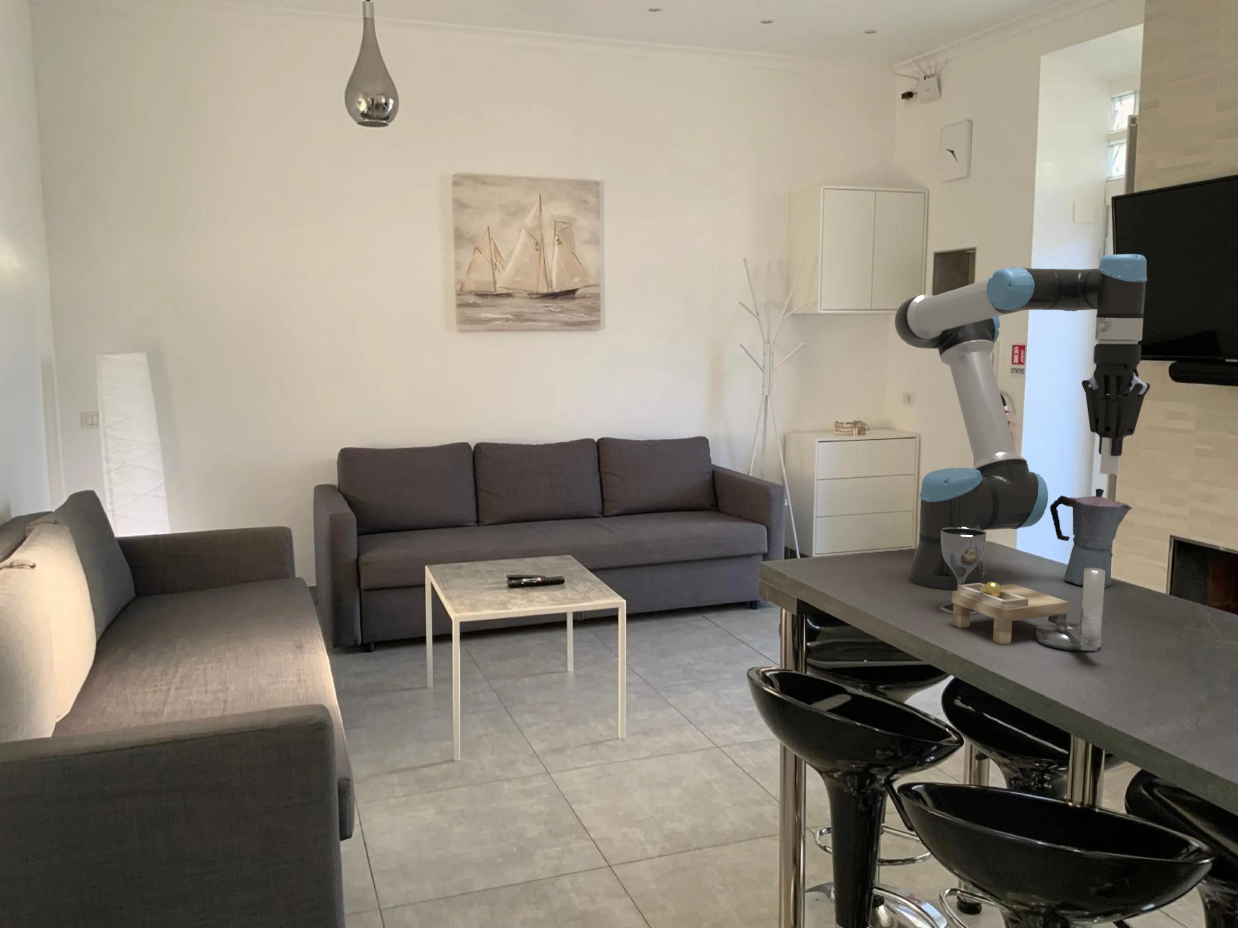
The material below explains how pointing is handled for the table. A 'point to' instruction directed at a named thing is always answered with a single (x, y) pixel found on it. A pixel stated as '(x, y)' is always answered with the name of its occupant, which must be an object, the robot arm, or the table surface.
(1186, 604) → the table surface
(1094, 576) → the silver l-shaped piece
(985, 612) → the stand
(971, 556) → the wine glass
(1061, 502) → the moka pot
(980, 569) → the robot arm
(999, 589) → the ball
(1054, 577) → the table surface
